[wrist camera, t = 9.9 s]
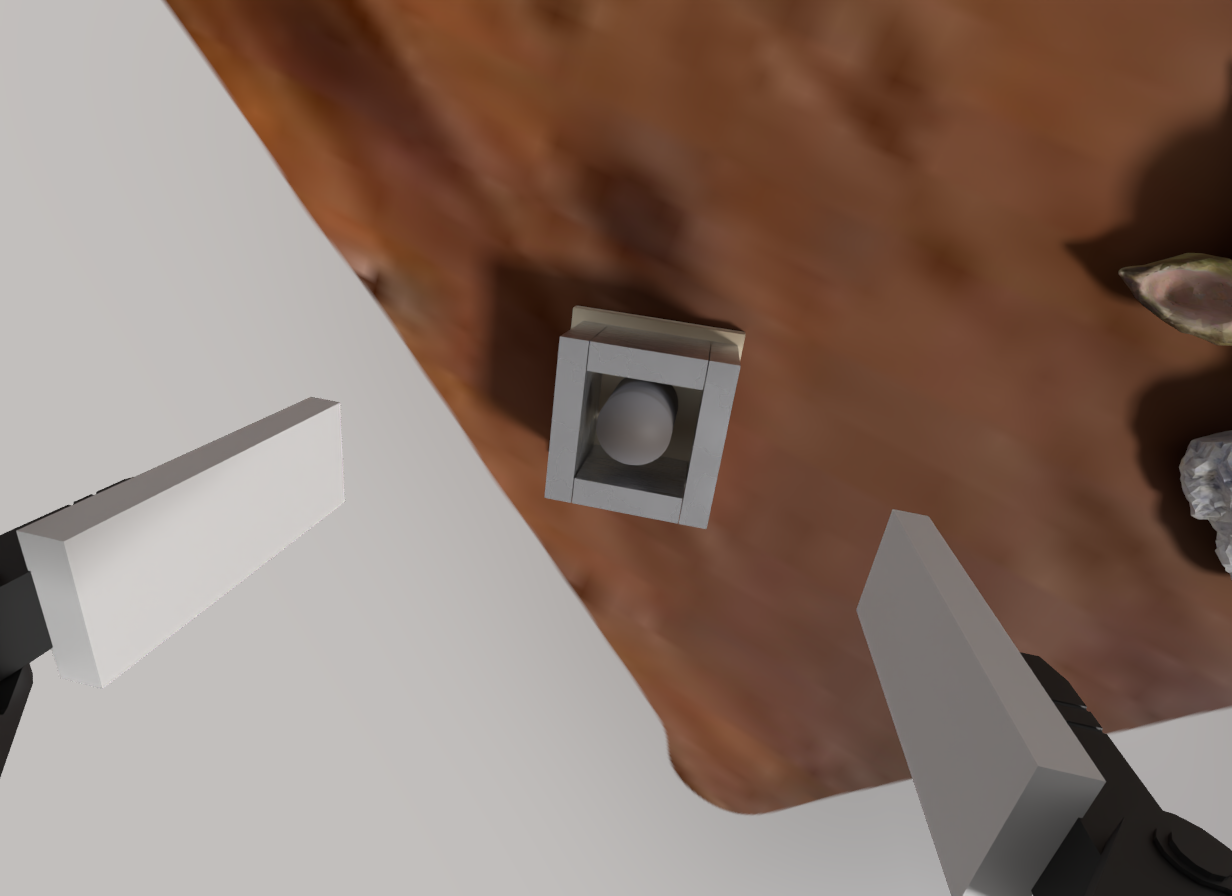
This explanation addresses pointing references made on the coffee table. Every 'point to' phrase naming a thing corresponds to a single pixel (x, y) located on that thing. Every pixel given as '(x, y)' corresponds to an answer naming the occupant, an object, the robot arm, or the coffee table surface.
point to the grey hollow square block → (660, 483)
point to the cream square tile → (648, 396)
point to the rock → (1211, 487)
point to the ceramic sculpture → (1187, 293)
